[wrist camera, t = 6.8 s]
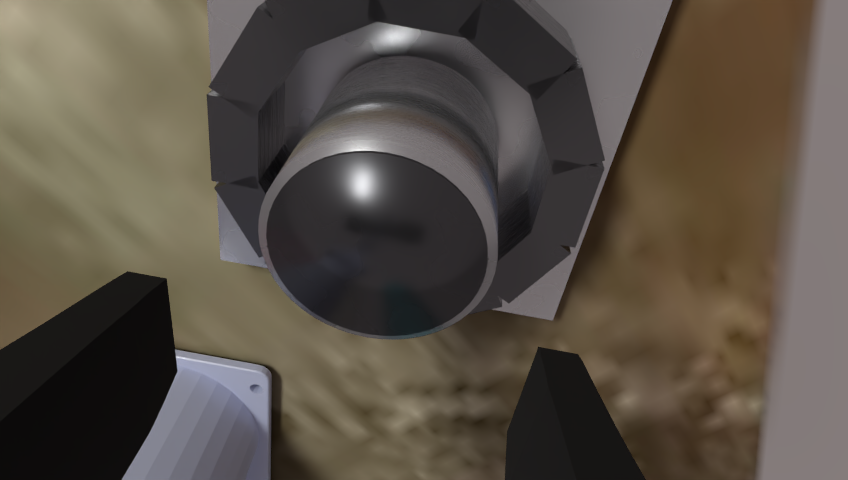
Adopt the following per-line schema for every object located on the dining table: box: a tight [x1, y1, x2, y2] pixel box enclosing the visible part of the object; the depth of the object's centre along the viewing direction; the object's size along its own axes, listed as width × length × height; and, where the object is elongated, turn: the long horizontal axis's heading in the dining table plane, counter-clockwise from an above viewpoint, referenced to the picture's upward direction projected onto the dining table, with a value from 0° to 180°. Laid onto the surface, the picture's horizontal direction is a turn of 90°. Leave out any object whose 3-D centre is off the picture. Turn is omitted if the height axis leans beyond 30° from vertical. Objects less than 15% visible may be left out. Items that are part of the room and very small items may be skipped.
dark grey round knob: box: [258, 56, 499, 339], centre depth 14 cm, size 5×5×5 cm
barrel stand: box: [207, 0, 672, 321], centre depth 16 cm, size 11×11×3 cm
